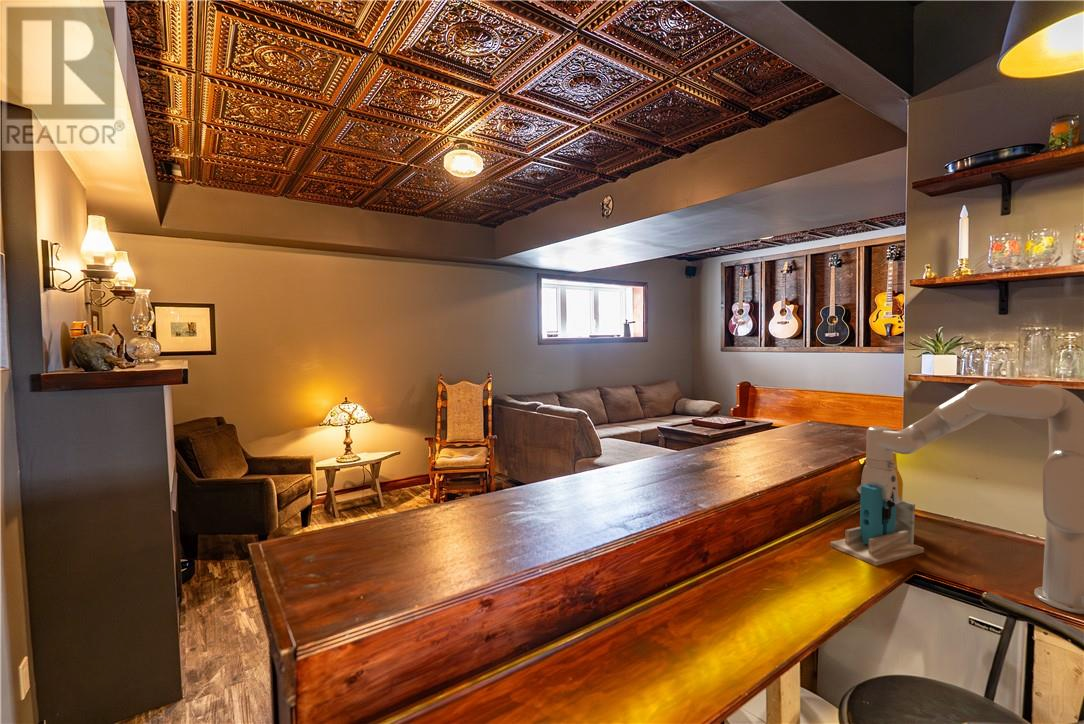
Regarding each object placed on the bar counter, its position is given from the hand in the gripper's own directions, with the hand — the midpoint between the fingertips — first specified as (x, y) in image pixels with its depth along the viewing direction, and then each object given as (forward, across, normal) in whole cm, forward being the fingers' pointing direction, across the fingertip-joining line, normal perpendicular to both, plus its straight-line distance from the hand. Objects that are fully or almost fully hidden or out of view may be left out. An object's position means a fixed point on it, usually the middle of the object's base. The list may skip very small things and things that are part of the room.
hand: (877, 515), depth 172 cm
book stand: (+12, 0, 0) cm, 12 cm away
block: (+10, 0, 0) cm, 10 cm away
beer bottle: (+12, +11, -22) cm, 27 cm away
